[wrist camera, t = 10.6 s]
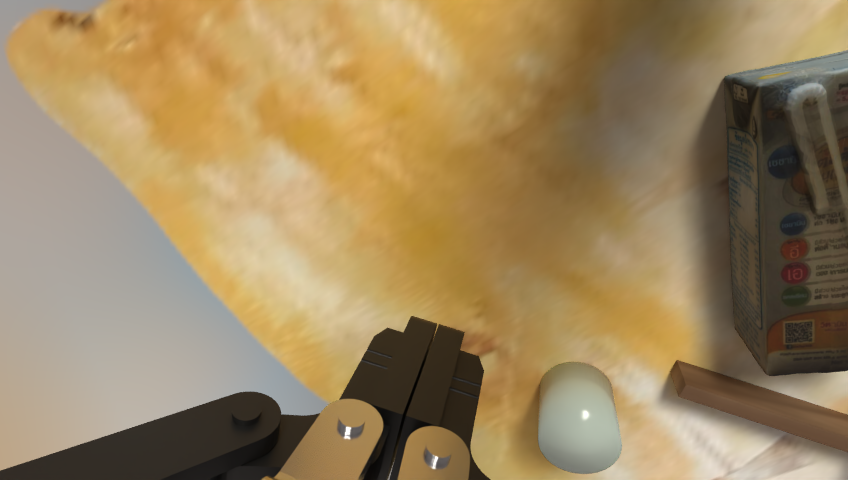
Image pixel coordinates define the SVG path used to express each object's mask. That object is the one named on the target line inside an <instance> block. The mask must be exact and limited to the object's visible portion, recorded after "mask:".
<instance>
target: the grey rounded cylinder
mask: <svg viewBox="0 0 848 480" xmlns="http://www.w3.org/2000/svg"><path fill="white" fill-rule="evenodd" d="M538 443H539V447H540V450H541V452H542V454H543V455H544V456H545V458H546V459H547V460H548V461H550V462H551V463H552V464H553V465H555V466H557V467H558V468H560V469H563V470H565V471H568V472H572V473H579V474H589V473H596V472H600V471H602V470H605V469H607V468H608V467H610V466H611V465H613V464H614V463H615V462H616V461H617V459H618V458H619V456H620V454H621V450H622V442H621V436H620V430H619V424H618V418H617V412H616V406H615V401H614V395H613V389H612V385H611V383H610V381H609V379H608V377H607V376H606V375H605V374H604V373H603V372H602V371H600V370H599V369H597V368H596V367H594V366H591V365H589V364H585V363H580V362H567V363H562V364H559V365H557V366H554V367H553V368H551V369H550V370H548V371H547V372H546V373H545V375H544V376H543V378H542V380H541V382H540V391H539V428H538Z"/></svg>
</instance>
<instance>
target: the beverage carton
mask: <svg viewBox="0 0 848 480" xmlns="http://www.w3.org/2000/svg"><path fill="white" fill-rule="evenodd" d="M724 83H725V108H726V123H727V159H728V181H729V207H730V242H731V269H732V286H733V302H734V316H735V329H736V331H737V332H738V334H739V335H740V337H741V338H742V339H743V340H744V342H745V344H746V346H747V347H748V349H749V350H750V352H751V353H752V355H753V357H754V358H755V360H756V361H757V362H758V364H759V365H760V367H761V368H762V369H763V371H764V372H765V373H766V374H767V375H769V376H778V375H789V374H796V373H817V372H818V373H829V372H840V371H848V50H846V51H843V52H838V53H834V54H829V55H825V56H821V57H816V58H810V59H806V60H801V61H796V62H790V63H785V64H781V65H775V66H770V67H765V68H761V69H755V70H748V71H743V72H739V73H735V74H731V75H727V76H725V78H724Z"/></svg>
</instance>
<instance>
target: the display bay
mask: <svg viewBox="0 0 848 480" xmlns="http://www.w3.org/2000/svg"><path fill="white" fill-rule="evenodd" d="M671 375H672V378H673V381H674V384H675V387H676V390H677V393H678V396H679V397H681V398H684V399H687V400H691V401H694V402H697V403H700V404H703V405H706V406H709V407H712V408H715V409H718V410H721V411H724V412H727V413H730V414H733V415H736V416H739V417H742V418H745V419H748V420H751V421H754V422H757V423H761V424H764V425H767V426H770V427H773V428H776V429H779V430H782V431H785V432H788V433H791V434H794V435H797V436H800V437H803V438H806V439H809V440H812V441H815V442H818V443H821V444H824V445H827V446H831V447H834V448H837V449H840V450H843V451H846V452H848V415H846V414H843V413H840V412H837V411H834V410H831V409H827V408H824V407H821V406H818V405H815V404H812V403H809V402H806V401H803V400H799V399H796V398H793V397H790V396H787V395H784V394H781V393H778V392H775V391H771V390H768V389H765V388H762V387H759V386H756V385H753V384H750V383H747V382H743V381H740V380H737V379H734V378H731V377H728V376H725V375H722V374H718V373H715V372H712V371H709V370H706V369H703V368H700V367H697V366H694V365H690V364H687V363H684V362H681V361H678V360H677V361H676V363H675V365H674V366H673V368H672V370H671Z"/></svg>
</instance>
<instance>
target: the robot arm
mask: <svg viewBox="0 0 848 480" xmlns="http://www.w3.org/2000/svg"><path fill="white" fill-rule="evenodd" d="M436 327H437V323H433V322H430V321H427V320H424V319H420V318H417V317H414V316H411V318H410V320H409V322H408V324H407V326H406V328H405V331H404V333H403V332H399V331H396V330H393V329H390V328H387V329H385V330H383V331H382V332H380V333H379V334H377V335H376V336H374V338H373V340H372V341H371V343H370V345H369V347H368V349H367V351H366V352H365V354H364V356H363V358H362V360H361V361H360V363H359V365H358V367H357V369H356V370H355V372H354V374H353V376H352V378H351V379H350V381H349V383H348V385H347V387H346V389H345V390H344V392H343V394H342V396H341V398H340V399H339V400H337V401H335V402H332V403H331V404H329V405H328V406H326V407H325V408H324V410H323V411H322V412H321V413H319V414H316V415H308V416H298V415H281V410H280V407H279V405H278V404H277V403H276V401H275V400H273V399H272V398H271V397H269V396H267V395H265V394H262V393H258V392H240V393H236V394H233V395H230V396H227V397H224V398H221V399H218V400H214V401H211V402H209V403H206V404H202V405H199V406H196V407H193V408H190V409H187V410H184V411H181V412H178V413H175V414H172V415H169V416H166V417H163V418H160V419H157V420H154V421H151V422H147V423H144V424H141V425H138V426H135V427H132V428H129V429H126V430H123V431H120V432H117V433H114V434H111V435H108V436H105V437H102V438H99V439H96V440H93V441H90V442H87V443H84V444H80V445H77V446H74V447H71V448H68V449H65V450H62V451H59V452H56V453H53V454H50V455H47V456H44V457H41V458H38V459H35V460H32V461H29V462H26V463H23V464H20V465H17V466H13V467H10V468H7V469H4V470H1V471H0V480H387V479H388V476H389V474H390V471H391V468H392V465H393V468H392V472H391V476H390V480H490V479H489V478H488V477H487V476H485V475H484V474H483V473H482V472H481V470H480V469H479V468H478V467H477V465H476V463H475V462H474V460H473V457H472V454H471V449H470V443H471V437H472V432H473V426H474V421H475V416H476V410H477V405H478V400H479V394H480V389H481V384H482V378H483V373H484V370H483V367H482V364H481V362H480V359H479V356H476V355H473V354H470V353H467V352H464V351H460V347H461V344H462V340H463V336H464V333H465V332H463V331H460V330H456V329H453V328H450V327H447V326H443V325H440V324H439V326H438V329H437V331H436ZM435 331H436V334H435ZM434 335H435V337H434ZM433 338H434V340H433ZM393 462H394V464H393Z"/></svg>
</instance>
